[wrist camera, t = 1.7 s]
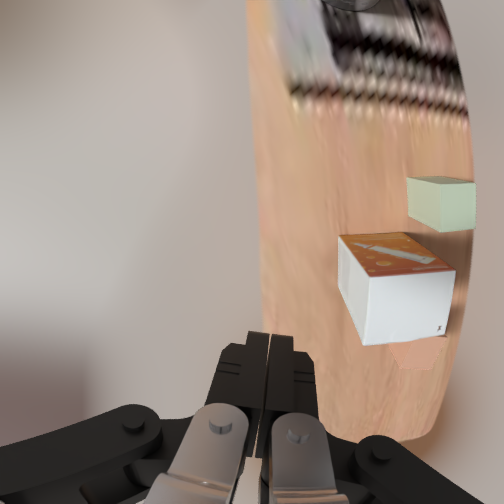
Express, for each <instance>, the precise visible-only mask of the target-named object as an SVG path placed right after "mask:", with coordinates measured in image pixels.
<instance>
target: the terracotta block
mask: <svg viewBox="0 0 504 504" xmlns="http://www.w3.org/2000/svg"><path fill="white" fill-rule="evenodd" d="M446 339H447V337H446V335H445V334H444V335H439V336H434V337H428V338H422V339H418V340H413V341H408V342H397V343H387V344H388V346H389V348H390V350H391V352H392V354H393V356H394V358H395V360H396V362H397V364H398V365H399V367H400V368H402V369H420V370H431V369H432V367H433V365H434V363H435V361H436V359H437V358H438V356H439V354H440V352H441V350H442V348H443V345H444V343H445V341H446Z"/></svg>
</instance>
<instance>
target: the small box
mask: <svg viewBox="0 0 504 504" xmlns="http://www.w3.org/2000/svg"><path fill="white" fill-rule="evenodd" d="M455 275H456V270H455V269H454V268H452V267H451V266H450V265H448V264H447V263H445V262H444V261H443V260H441V259H440V258H439V257H437V256H436V255H434V254H433V253H432V252H430V251H429V250H427V249H426V248H425V247H423V246H422V245H420V244H419V243H417V242H416V241H414V240H413V239H412V238H410V237H409V236H407V235H406V234H404V233H403V232H397V233H384V234H364V235H339V237H338V287H339V289H340V292H341V294H342V296H343V299H344V301H345V303H346V306H347V308H348V310H349V312H350V315H351V317H352V319H353V322H354V324H355V326H356V329H357V331H358V334H359V336H360V339H361V341H362V344H363V345H364V346H368V345H378V344H387V343H397V342H408V341H413V340H418V339H422V338H428V337H434V336H439V335H444V334H445V330H446V325H447V321H448V316H449V311H450V306H451V301H452V295H453V289H454V282H455Z"/></svg>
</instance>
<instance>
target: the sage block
mask: <svg viewBox="0 0 504 504" xmlns="http://www.w3.org/2000/svg"><path fill="white" fill-rule="evenodd" d="M406 179H407V196H408V216H409V217H411V218H413V219H415V220H417V221H419V222H421V223H423V224H425V225H427V226H429V227H431V228H433V229H434V230H436V231H438V232H440V233H442V232H451V231H459V230H468V229H475V228H476V183H473V182H468V181H463V180H458V179H453V178H447V177H442V176H425V177H406Z"/></svg>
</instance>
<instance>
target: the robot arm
mask: <svg viewBox="0 0 504 504" xmlns="http://www.w3.org/2000/svg"><path fill="white" fill-rule="evenodd" d="M323 1H324V2H326V3H328V4H330V5H332V6H334V7H337V8H340V9H344V10H351V11H359V10H365V9H369V8H371V7H373V6H374V5H375V4H376V3H377V2H378V1H379V0H323ZM269 335H270V334H268V333H260V332H253V331H248V335H247V340H246V345H242V344H235V343H230V344H229V345H228V346H227V347H226V348H225V349H223V350H222V352H221V356H220V358H219V362H218V365H217V368H216V372H215V374H214V377H213V381H212V384H211V387H210V390H209V393H208V396H207V400H206V402H205V405H204V407H202V408H200V409H199V410H198V411H197V412H196V413H195V415H193V416H191V417H188V418H184V419H160V418H159V416H158V415H157V414H156V413H155V412H154V411H153V410H152V409H150V408H148V407H146V406H142V405H137V404H129V405H124V406H121V407H118V408H116V409H113V410H111V411H108V412H105V413H103V414H101V415H98V416H95V417H92V418H90V419H87V420H84V421H81V422H78V423H76V424H73V425H70V426H67V427H64V428H61V429H58V430H55V431H52V432H49V433H46V434H43V435H40V436H36V437H34V438H30V439H27V440H23V441H20V442H16V443H13V444H9V445H6V446H2V447H0V504H136V503H137V502H140V501H142V500H144V499H145V501H144V503H143V504H233V501H234V497H235V494H236V490H237V487H238V483H239V479H240V476H241V474H242V473H243V470H244V465H245V459H246V457H252V455H253V449H254V445H255V440H256V435H257V430H258V437H257V445H256V454H255V457H256V458H262V466H261V472H260V476H259V488H258V504H484V503H482V502H481V501H479V500H478V499H476V498H475V497H473V496H472V495H470V494H469V493H467V492H466V491H464V490H463V489H462V488H460V487H459V486H457V485H456V484H454V483H453V482H451V481H450V480H449V479H447V478H446V477H444V476H443V475H441V474H440V473H439V472H437V471H436V470H434V469H433V468H432V467H430V466H429V465H428V464H426V463H425V462H423V461H422V460H421V459H419V458H418V457H417V456H415V455H414V454H413V453H411V452H410V451H409V450H407V449H406V448H405V447H403V446H402V445H401V444H399V443H398V442H397V441H395V440H394V439H392V438H390V437H387V436H382V435H372V436H368V437H366V438H364V439H362V440H361V441H360V442H359V443H358V444H357V443H354V442H350V441H346V440H343V439H339V438H337V437H335V436H333V435H331V434H330V433H328V432H327V431H326V430H325V428H324V426H323V424H322V423H321V422H320V421H319V416H318V404H317V393H316V384H315V375H314V374H315V371H314V362H313V361H312V359H311V358H310V357H309V355H308V354H307V352H298V351H294V349H293V336H285V335H277V334H272V336H271V342H270V348H269V354H268V345H269ZM267 355H268V360H267ZM266 364H267V366H266ZM259 420H260V421H259ZM258 425H259V429H258Z"/></svg>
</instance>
